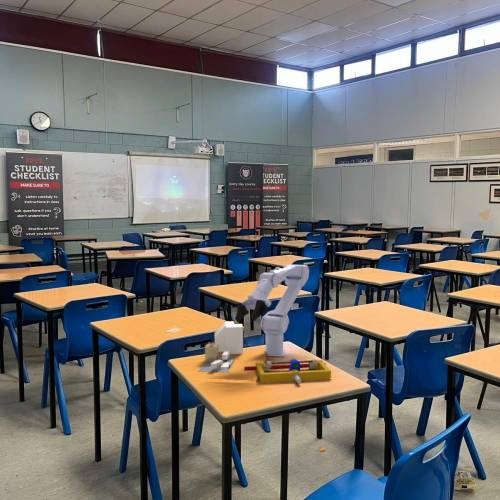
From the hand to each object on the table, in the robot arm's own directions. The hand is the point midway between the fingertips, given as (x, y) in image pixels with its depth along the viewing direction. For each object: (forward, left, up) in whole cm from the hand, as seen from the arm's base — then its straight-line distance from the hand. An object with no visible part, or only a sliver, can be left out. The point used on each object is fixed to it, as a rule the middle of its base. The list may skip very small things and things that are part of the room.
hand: (244, 319), depth 187 cm
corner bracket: (-21, -10, -19) cm, 30 cm away
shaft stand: (-2, -11, -19) cm, 22 cm away
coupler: (-6, -14, -18) cm, 23 cm away
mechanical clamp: (+6, +17, -19) cm, 26 cm away
